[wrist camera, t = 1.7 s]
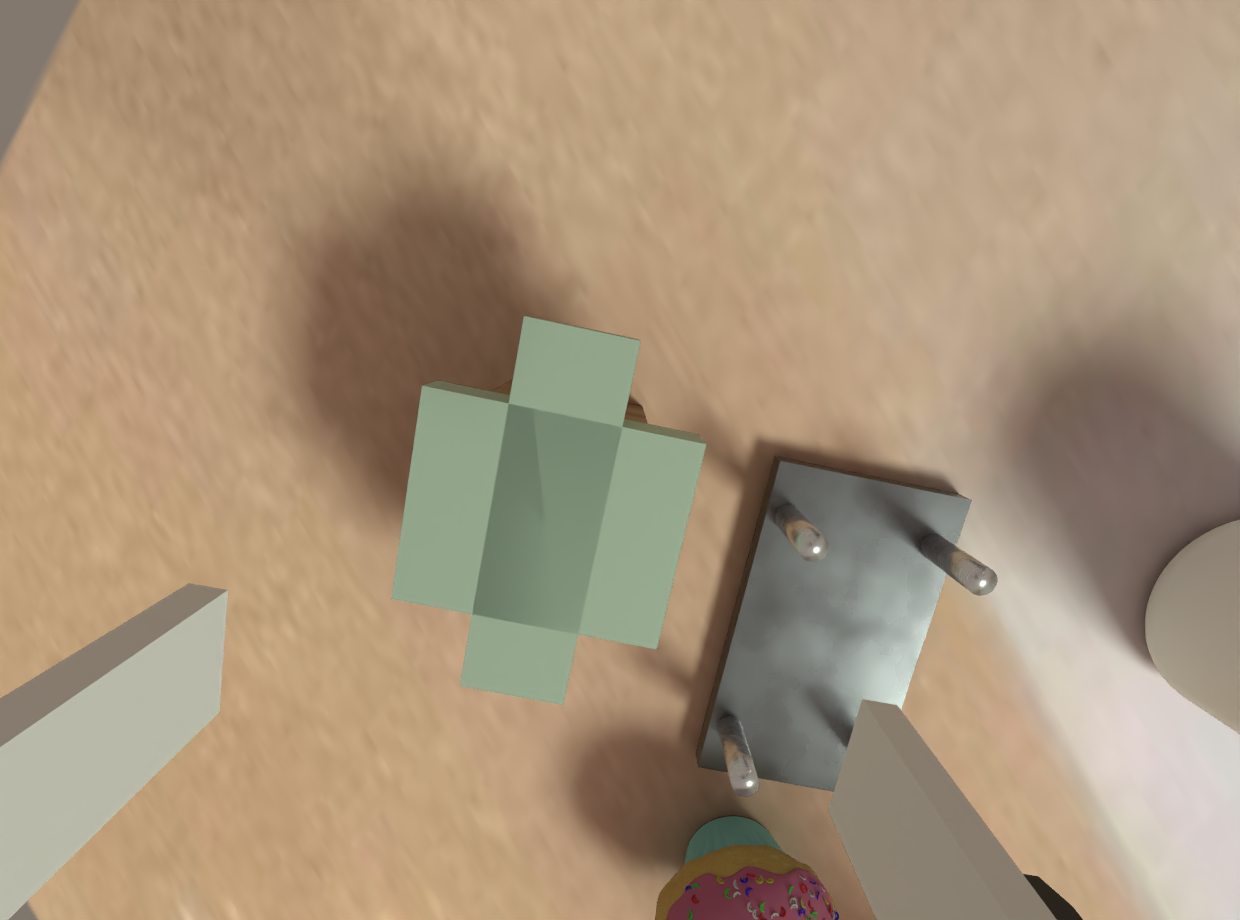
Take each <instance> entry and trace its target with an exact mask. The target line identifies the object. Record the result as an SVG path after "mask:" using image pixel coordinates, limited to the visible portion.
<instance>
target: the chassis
mask: <svg viewBox="0 0 1240 920" xmlns="http://www.w3.org/2000/svg"><path fill="white" fill-rule="evenodd" d="M971 501H972V500H970V499H968V498H966V497H964V496H962V495H960V494H955V493H950V492H946V491H941V490H936V489H931V488H926V487H921V486H917V485H912V484H907V483H902V482H897V481H892V480H888V479H883V478H878V477H873V476H868V475H863V474H858V473H854V472H849V471H844V470H839V469H834V468H829V467H825V466H820V465H815V464H810V463H805V462H800V461H796V460H791V459H786V458H781V457H776V456H775V458H774V462H773V465H772V469H771V473H770V477H769V480H768V484H767V488H766V492H765V495H764V499H763V503H762V507H761V510H760V514H759V518H758V522H757V525H756V529H755V533H754V537H753V540H752V544H751V548H750V552H749V555H748V559H747V563H746V567H745V570H744V574H743V578H742V582H741V585H740V589H739V593H738V597H737V600H736V604H735V608H734V612H733V615H732V619H731V623H730V627H729V630H728V634H727V638H726V642H725V645H724V649H723V653H722V657H721V660H720V664H719V668H718V672H717V675H716V679H715V683H714V687H713V690H712V694H711V698H710V702H709V705H708V709H707V713H706V717H705V720H704V724H703V728H702V732H701V735H700V739H699V743H698V747H697V750H696V759H697V764H698V767H701V768H707V769H712V770H718V771H723V772H728V774H729V778H730V782H731V786H732V789H733V791H734V792H735V793H736V794H737V795H739V796H743V797H747V796H751V795H753V794H754V793H756V792H757V790H758V788H759V779H758V778H762V779H767V780H773V781H778V782H784V783H789V784H795V785H800V786H806V787H812V788H817V789H823V790H828V791H834V790H835V787H836V783H837V780H838V777H839V773H840V770H841V767H842V763H843V760H844V757H845V754H846V750H847V747H848V744H849V740H850V737H851V734H852V730H853V727H854V724H855V720H856V717H857V714H858V711H859V707H860V704H861V701H862V699H865V700H871V701H877V702H882V703H888V704H894V705H897V706H898V707H899V708H900V710H901V707H902V704H903V702H904V699H905V696H906V693H907V690H908V687H909V684H910V681H911V678H912V675H913V672H914V669H915V666H916V663H917V660H918V657H919V654H920V651H921V648H922V645H923V642H924V639H925V637H926V634H927V631H928V628H929V625H930V622H931V619H932V616H933V613H934V610H935V607H936V604H937V601H938V598H939V595H940V592H941V589H942V586H943V583H944V580H945V577H946V574H948V575H949V576H951V577H952V578H953V579H955V580H956V581H957V582H958V583H960V584H961V585H962V586H964V587H965V588H966V589H968V590H969V591H970V592H972V593H973V594H975V595H986V594H988V593H990V592H991V591H992V590H993V589H994V588H995V586H996V584H997V575H996V573H995V572H994V571H993V570H992V569H990V568H989V567H987V566H985V565H984V564H982V563H981V562H979V561H978V560H976V559H975V558H973V557H972V556H970V555H969V554H967V553H966V552H964V551H963V550H961V549H960V548H958V547H957V546H956V545H957V542H958V539H959V536H960V533H961V530H962V527H963V524H964V521H965V518H966V515H967V512H968V509H969V506H970V503H971Z"/></svg>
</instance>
